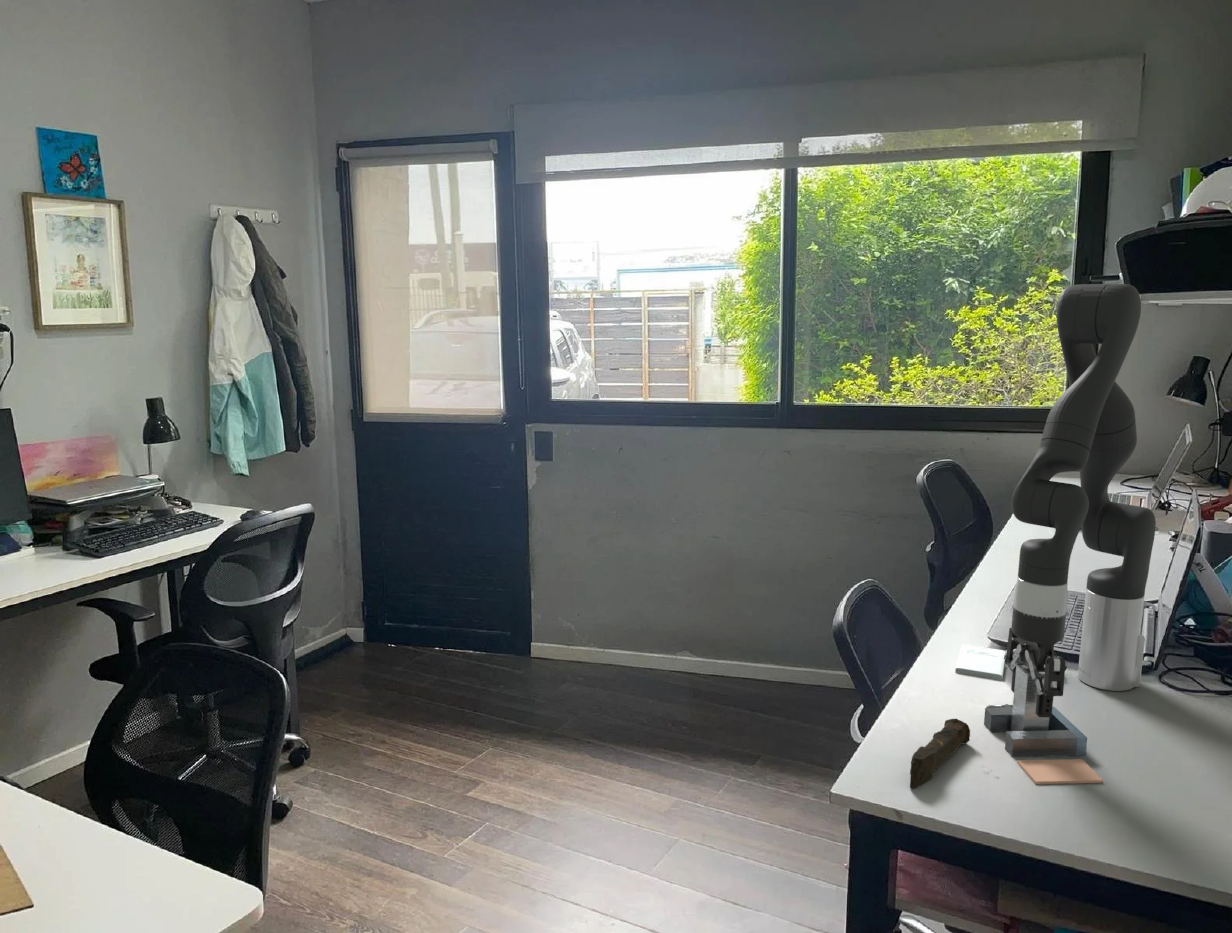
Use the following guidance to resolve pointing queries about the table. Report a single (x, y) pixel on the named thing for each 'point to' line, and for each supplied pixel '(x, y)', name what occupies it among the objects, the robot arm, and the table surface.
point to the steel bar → (1026, 703)
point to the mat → (1059, 771)
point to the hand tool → (937, 751)
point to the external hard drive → (981, 662)
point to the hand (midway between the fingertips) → (1030, 703)
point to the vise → (1036, 735)
